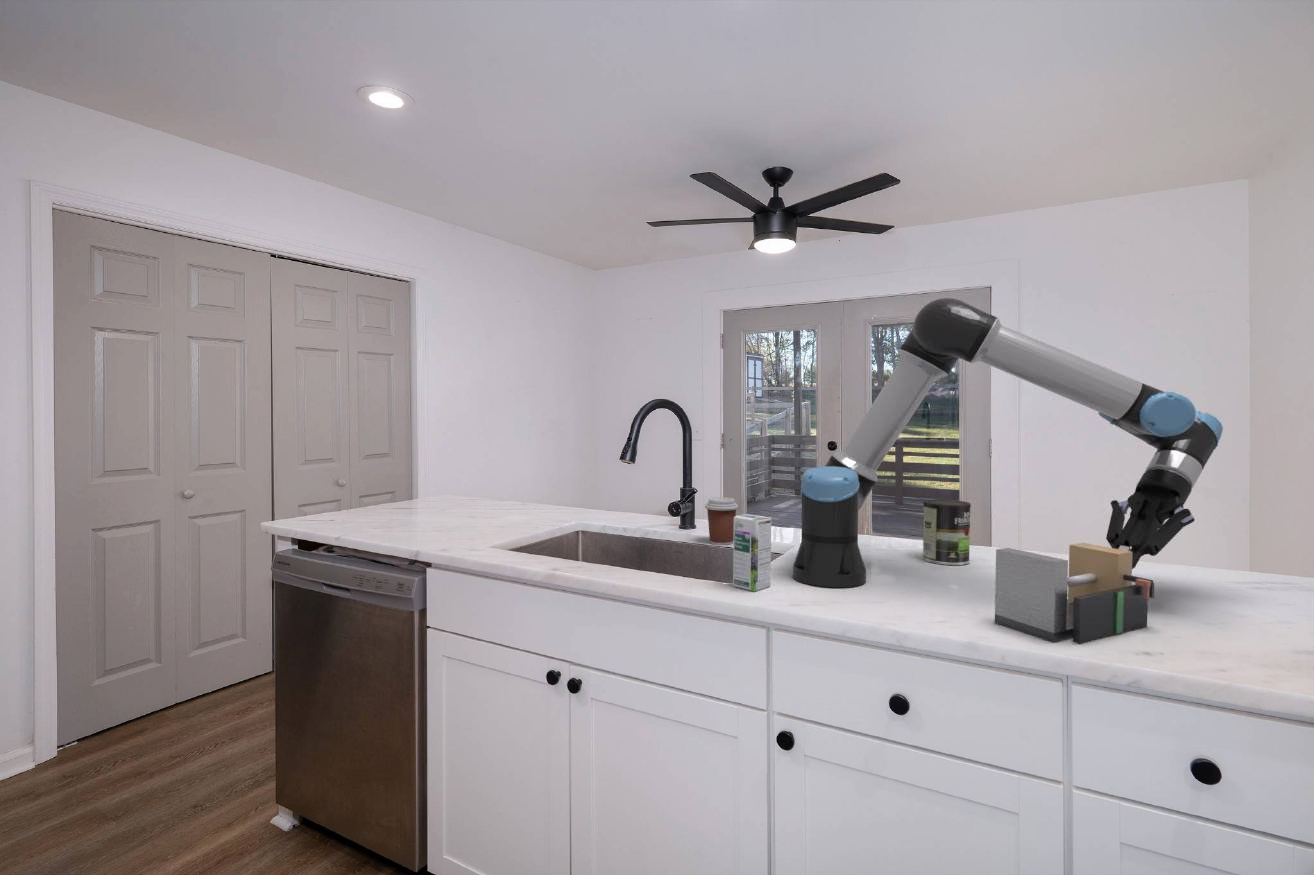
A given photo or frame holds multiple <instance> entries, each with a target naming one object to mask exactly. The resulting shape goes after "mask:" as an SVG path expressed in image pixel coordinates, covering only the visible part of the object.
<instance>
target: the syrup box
mask: <svg viewBox="0 0 1314 875" xmlns="http://www.w3.org/2000/svg"><path fill="white" fill-rule="evenodd" d="M732 557H733V558H732V559H733V562H732V564H733V565H732V568H733V569H732V570H733V571H732V573H733V574H732V587H734V588H739V589H743V590H747V591H751V592H753V593H754V592H758V591H761V590H764V589H766V588H770V587H771V584H772V583H771V582H772V581H771V580H772V579H771V574H772V573H771V572H772V571H771V569H772V568H771V566H772V564H771V563H772V558H771V557H772V516H762V515H755V514H751V513H749V514H747V513H745V514H738V515H736V516H735V517H734V541H733V555H732Z"/></svg>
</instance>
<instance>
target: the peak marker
mask: <svg viewBox="0 0 1314 875" xmlns="http://www.w3.org/2000/svg"><path fill="white" fill-rule="evenodd" d="M1134 583H1135V584H1134V585H1141V586H1144V598H1146V599H1148V600H1149V599H1150V598H1149V587H1150V586H1151V581H1147V580H1143V579H1136V582H1134Z"/></svg>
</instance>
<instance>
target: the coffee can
mask: <svg viewBox="0 0 1314 875" xmlns="http://www.w3.org/2000/svg"><path fill="white" fill-rule="evenodd" d="M922 504H923V532H922V533H923V535H922V536H923V537H922V538H923V540H922V542H923V543H922V547H923V548H922V560H923V561H925V562H927V561H928V563H931V564H935V565H936V564H937V565H942V564H943V565H944V566H965V565H964V564H966V565H968V564H970V537H971V536H970V535H971V533H970V531H971V506H972V503H970V502H968V501H963V500H956V499H955V500H954V499H925V500H923V501H922ZM943 565H942V566H943Z"/></svg>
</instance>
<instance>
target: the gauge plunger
mask: <svg viewBox="0 0 1314 875" xmlns="http://www.w3.org/2000/svg"><path fill="white" fill-rule="evenodd" d="M1068 550H1069V552H1068V555H1069V556H1068V559H1069V560H1068V583H1067V599H1068V600H1069V601H1073V602H1074V597H1077V596H1082V595H1087V594H1092V593H1097V592H1102V591H1107V590H1111V589H1116V588H1121V587H1126V586H1131V585H1133V583H1135V582H1136V579H1143V580H1147V581H1151V586H1150V587H1149V599H1154V598H1155V582H1154V580H1153V579H1151V578H1144V577H1140V576H1135V575H1133V569H1132V552H1131V551H1125V550H1120V549H1114V548H1112V547H1108V546H1103V545H1098V544H1092V543H1086V542H1079V543H1073V544H1069V549H1068ZM1132 582H1133V583H1132Z"/></svg>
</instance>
